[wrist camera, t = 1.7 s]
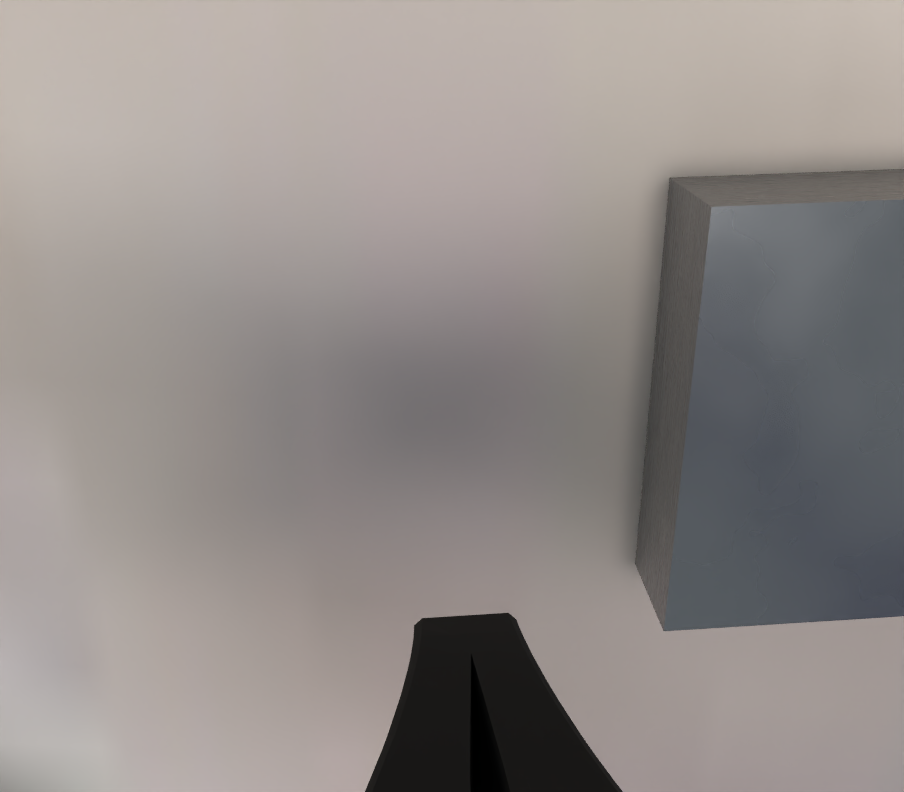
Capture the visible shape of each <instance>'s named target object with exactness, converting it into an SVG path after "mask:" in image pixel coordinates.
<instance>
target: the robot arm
mask: <svg viewBox="0 0 904 792" xmlns="http://www.w3.org/2000/svg"><path fill="white" fill-rule="evenodd" d="M365 792H622V790H621V789H620V788H619V786H618V785H617V784H616V783H615V781H614V780H613V779H612V777H611V776H610V774H609V773H608V772H607V770H606V769H605V768H604V766H603V765H602V764H601V762H600V761H599V760H598V758H597V757H596V756H595V754H594V753H593V751H592V750H591V749H590V747H589V746H588V744H587V743H586V741H585V740H584V739H583V737H582V736H581V734H580V733H579V731H578V730H577V728H576V726H575V725H574V723H573V722H572V720H571V719H570V717H569V716H568V714H567V713H566V711H565V710H564V708H563V707H562V705H561V703H560V702H559V700H558V699H557V697H556V695H555V694H554V692H553V691H552V689H551V687H550V686H549V684H548V682H547V680H546V679H545V677H544V675H543V673H542V672H541V670H540V668H539V666H538V664H537V663H536V661H535V659H534V657H533V655H532V653H531V651H530V649H529V647H528V645H527V643H526V641H525V639H524V637H523V635H522V633H521V630H520V628H519V626H518V623H517V620H516V619H515V618H514V617H513V616H512V615H510V614H509V613H500V614H484V615H468V616H452V617H436V618H422V619H421V620H420V621H419V622H418V623H416V624H415V625H414V640H413V646H412V653H411V658H410V662H409V667H408V671H407V675H406V679H405V682H404V686H403V690H402V693H401V697H400V700H399V703H398V706H397V709H396V712H395V715H394V718H393V721H392V724H391V727H390V730H389V733H388V736H387V739H386V741H385V744H384V747H383V749H382V752H381V754H380V757H379V759H378V761H377V764H376V766H375V769H374V771H373V774H372V776H371V778H370V781H369V783H368V786H367V788H366V791H365Z"/></svg>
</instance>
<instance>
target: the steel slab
mask: <svg viewBox="0 0 904 792" xmlns="http://www.w3.org/2000/svg"><path fill="white" fill-rule="evenodd" d="M635 564H636V567H637V569H638V571H639V574H640V576H641V578H642V581H643V583H644V586H645V588H646V590H647V593H648V595H649V597H650V600H651V602H652V605H653V607H654V609H655V612H656V614H657V616H658V619H659V621H660V624H661V626H662V628H663V631H674V630H690V629H706V628H722V627H738V626H754V625H770V624H786V623H802V622H817V621H833V620H849V619H865V618H881V617H897V616H904V169H896V170H869V171H841V172H814V173H787V174H759V175H732V176H705V177H677V178H670V180H669V192H668V203H667V214H666V225H665V236H664V248H663V259H662V270H661V281H660V292H659V304H658V315H657V326H656V337H655V348H654V360H653V371H652V382H651V393H650V404H649V416H648V427H647V438H646V449H645V461H644V472H643V483H642V494H641V505H640V517H639V528H638V539H637V550H636V561H635Z"/></svg>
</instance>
